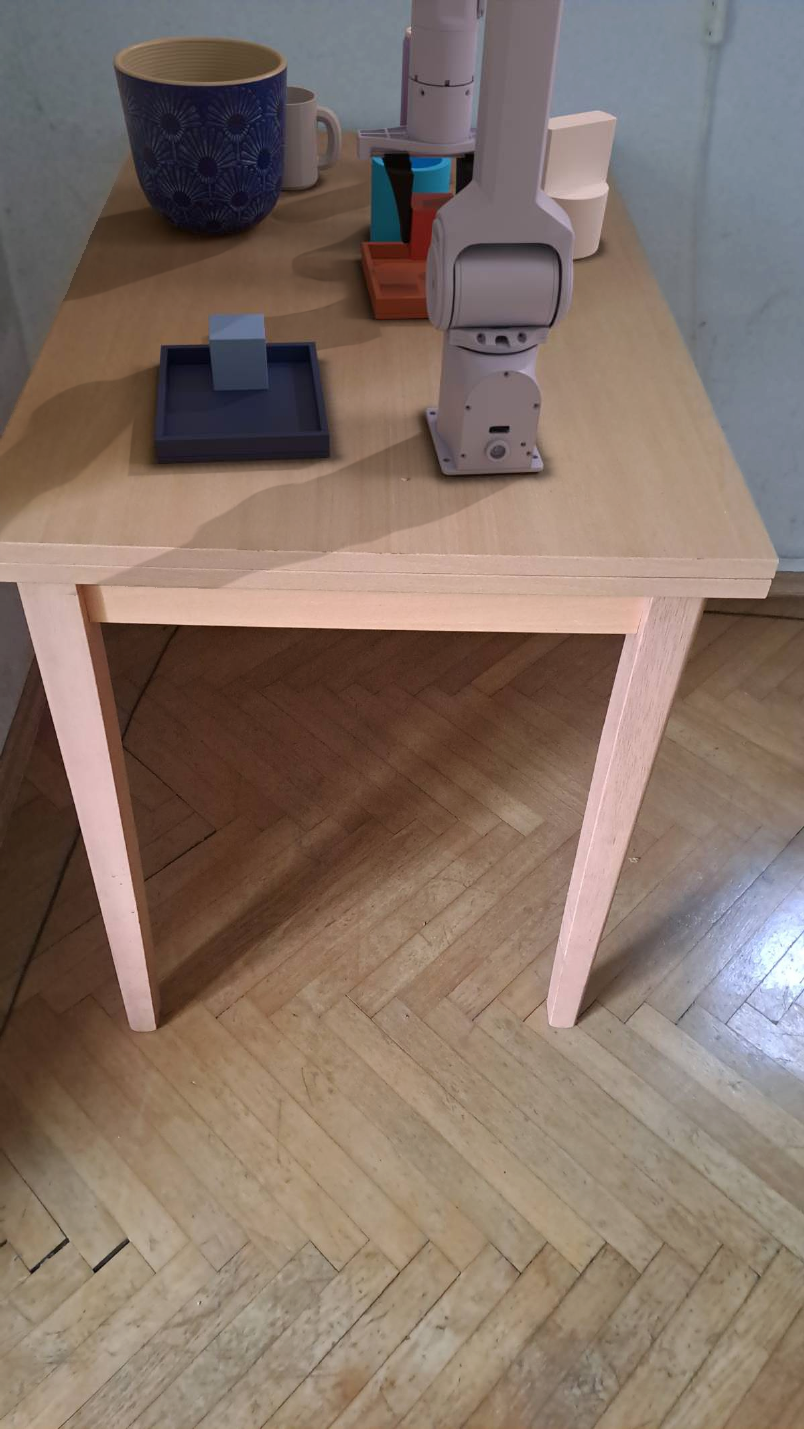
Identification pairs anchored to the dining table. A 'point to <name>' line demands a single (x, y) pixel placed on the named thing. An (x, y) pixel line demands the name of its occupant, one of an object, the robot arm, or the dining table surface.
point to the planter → (206, 128)
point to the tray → (394, 280)
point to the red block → (424, 221)
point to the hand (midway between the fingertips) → (431, 239)
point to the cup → (307, 139)
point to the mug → (384, 213)
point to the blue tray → (240, 408)
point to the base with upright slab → (580, 172)
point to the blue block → (238, 351)
